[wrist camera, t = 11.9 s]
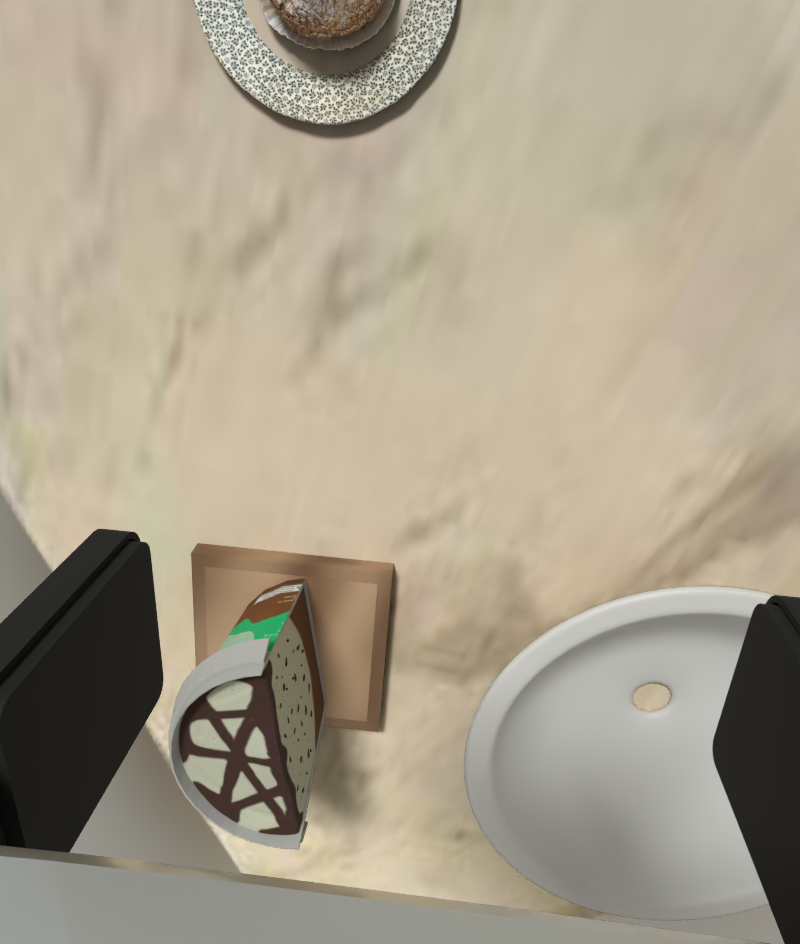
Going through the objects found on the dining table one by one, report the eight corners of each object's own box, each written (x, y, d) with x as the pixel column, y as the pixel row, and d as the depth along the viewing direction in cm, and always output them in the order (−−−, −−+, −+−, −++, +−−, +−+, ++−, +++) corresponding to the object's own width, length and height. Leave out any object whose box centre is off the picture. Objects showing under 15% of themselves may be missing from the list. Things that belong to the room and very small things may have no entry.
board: (393, 563, 43) (392, 574, 42) (380, 718, 48) (378, 732, 47) (197, 543, 43) (190, 553, 42) (203, 699, 48) (197, 712, 47)
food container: (200, 561, 42) (130, 670, 33) (301, 556, 42) (258, 664, 33) (239, 724, 47) (187, 858, 38) (330, 721, 46) (300, 857, 37)
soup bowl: (805, 469, 39) (869, 524, 33) (882, 780, 47) (946, 871, 41) (404, 603, 44) (396, 672, 38) (535, 863, 52) (546, 955, 46)
